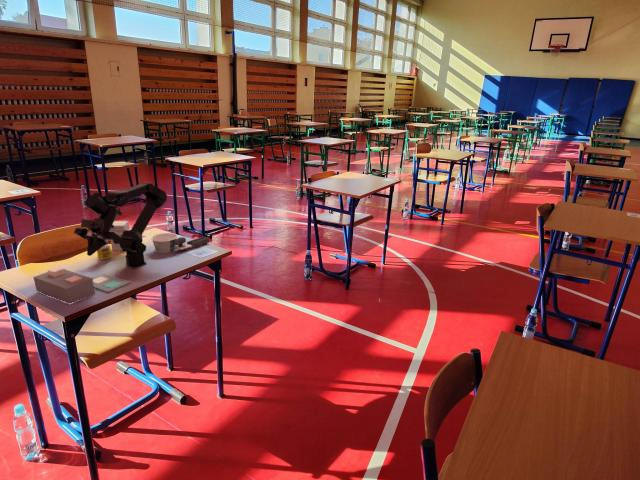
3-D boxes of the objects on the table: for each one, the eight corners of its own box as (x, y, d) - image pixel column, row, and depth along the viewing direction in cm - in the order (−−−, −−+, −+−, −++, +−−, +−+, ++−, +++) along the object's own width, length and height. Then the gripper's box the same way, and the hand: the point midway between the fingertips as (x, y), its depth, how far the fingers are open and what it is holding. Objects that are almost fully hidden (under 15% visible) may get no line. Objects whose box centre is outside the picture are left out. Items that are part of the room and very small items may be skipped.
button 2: (77, 285, 159) (75, 275, 158) (83, 287, 157) (82, 277, 156) (67, 289, 156) (64, 279, 154) (73, 291, 154) (71, 281, 153)
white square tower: (116, 245, 208) (113, 221, 204) (132, 244, 209) (128, 220, 204) (111, 250, 201) (107, 225, 197) (127, 250, 202) (123, 225, 198)
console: (62, 282, 167) (59, 267, 165) (95, 293, 159) (92, 278, 157) (37, 292, 159) (33, 277, 157) (69, 304, 150) (66, 288, 148)
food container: (147, 250, 202) (145, 237, 200) (168, 243, 211) (167, 231, 209) (162, 256, 196) (161, 242, 193) (183, 248, 205) (182, 236, 203)
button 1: (60, 275, 163) (58, 266, 162) (66, 277, 161) (64, 268, 160) (49, 279, 160) (47, 270, 158) (56, 281, 158) (54, 272, 156)
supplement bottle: (103, 263, 186) (100, 243, 183) (96, 261, 189) (92, 240, 185) (114, 259, 191) (111, 239, 187) (107, 257, 193) (103, 237, 190)
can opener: (179, 253, 199) (178, 241, 197) (173, 251, 201) (171, 239, 199) (210, 243, 213) (209, 231, 211) (204, 241, 216) (203, 229, 214)
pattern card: (104, 274, 175) (104, 273, 175) (130, 283, 168) (130, 281, 168) (81, 284, 166) (81, 282, 166) (108, 293, 160) (108, 291, 159)
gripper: (72, 207, 162) (53, 243, 156) (111, 212, 157) (93, 250, 151) (92, 220, 172) (75, 255, 166) (129, 226, 166) (113, 261, 160)
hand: (88, 255), depth 161 cm, fingers closed
